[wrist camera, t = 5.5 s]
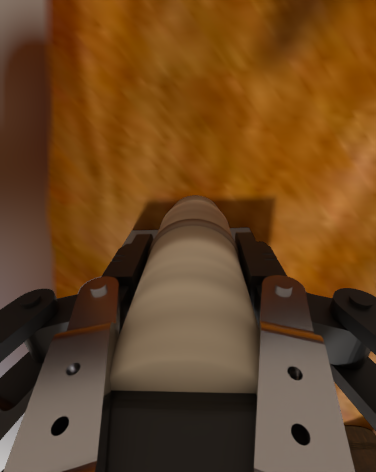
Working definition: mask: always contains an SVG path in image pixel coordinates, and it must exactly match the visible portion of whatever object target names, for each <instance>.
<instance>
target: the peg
mask: <svg viewBox="0 0 376 472" xmlns="http://www.w3.org/2000/svg"><path fill="white" fill-rule="evenodd" d="M147 259H148V260H147V263H146V266H145V268H144V271H143V274H142V276H141V279H140V282H139V284H138V287H137V290H136V292H135V295H134V298H133V300H132V303H131V306H130V308H129V311H128V314H127V316H126V319H125V322H124V324H123V327H122V330H121V332H120V335H119V338H118V341H117V344H116V348H115V353H114V357H113V363H112V368H111V374H110V382H111V390H121V391H167V392H213V393H256V386H257V379H258V349H259V327H258V324H257V320H256V317H255V313H254V310H253V306H252V303H251V300H250V296H249V293H248V289H247V286H246V283H245V279H244V276H243V272H242V269H241V266H240V262H239V261H240V254H239V251H238V248H237V245H236V243H235V241H234V239H233V238H232V235H231V231H230V228H229V225H228V222H227V220H226V218H225V216H224V215H223V213H222V212H221V211H220V210H219V209H218V207H217V206H216V205H215V204H214V203H213V202H212V201H211V200H209V199H208V198H205V197H202V196H188V197H185V198H183V199H181V200H179V201H178V202H177V203H176V204H175V205H174V206H173V208H172V209H171V210H170V211H169V212H168V213H167V214H166V215H165V217H164V218H163V221H162V223H161V226H160V228H159V231H158V234H157V235H156V236H155V238H154V240H153V241H152V244H151V246H150V249H149V251H148V255H147Z"/></svg>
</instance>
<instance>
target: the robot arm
mask: <svg viewBox="0 0 376 472" xmlns="http://www.w3.org/2000/svg"><path fill="white" fill-rule="evenodd" d="M152 241H153V235H152V234H136V236H135V238H134V240H133V241H132V243H131V244H125V245H124V246H123V247H121V248H120V249H119V250H118V251H117V253H116V254H115V256H114V258H113V259H112V262H110V264H109V265H108V267H107V269H106V270H105V272H104V273H103V275H102V276H101V277H98V278H95V279H92V280H90V281H88V282H87V283H85V284H84V285H83V286H82V287H81V288H80V290H79V292H78V294H77V295H72V296H68V297H63V298H59V299H57V298H56V296H55V293H54V292H53V291H52V290H50V289H37V290H34V291H31V292H28V293H26V294H24V295H22V296H20V297H19V298H17V299H15V300H14V301H13V302H11V303H10V304H8V305H7V306H5V307H4V308H2V309H1V310H0V362H1V361H2V360H4V359H5V358H6V357H7V356H8V355H10V354H11V353H12V352H13V351H14V350H15V349H16V348H18V347H19V346H20V345H21V344H22V343H23V342H24V343H25V345H26V347H27V349H28V351H29V352H28V353H27V354H26V355H25V356H24V357H22V358H21V359H20V360H19V361H18V362H17V363H16V364H15V365H14V366H13V367H12V368H10V369H9V370H8V371H7V372H6V373H5V374H4V375H3V376H2V377H1V378H0V440H1V439H2V437H4V435H5V434H6V433H7V432H8V431H9V430H10V428H11V427H12V426H13V425H14V424H15V422H17V421H18V419H19V418H20V417H21V416H22V415H23V414H24V413H25V415H24V417H23V420H22V422H21V425H20V428H19V430H18V433H17V436H16V439H15V441H14V444H13V447H12V450H11V452H10V455H9V458H8V460H7V463H6V466H5V469H4V470H3V471H2V472H357V471H356V470H355V469H354V465H353V461H352V457H351V453H350V448H349V444H348V440H347V436H346V431H345V427H344V423H343V419H342V415H341V410H340V406H339V402H338V398H337V393H336V389H335V385H334V382H335V383H336V384H337V385H338V387H339V388H340V389H341V390H342V391H343V393H344V394H345V395H346V396H347V397H348V399H349V400H350V401H351V402H352V403H353V404H354V406H355V407H356V408H357V409H358V410H359V412H360V413H361V414H362V415H363V416H364V418H365V419H366V420H367V421H368V422H369V424H370V425H371V426H372V427H373V428H374V429H375V431H376V364H375V363H374V362H373V361H372V360H371V359H370V358H369V357H368V356H369V354H370V352H371V351H372V352H373V353H374V354H375V355H376V297H374V296H373V295H371V294H369V293H366V292H364V291H361V290H357V289H351V288H343V289H339V290H337V291H335V293H334V295H333V298H328V297H323V296H318V295H313V294H310V293H307V292H306V291H305V288H304V287H303V285H302V284H301V283H299V282H298V281H297V280H295V279H293V278H290V277H287V275H286V273H285V272H284V270H283V268H282V266H281V265H280V263H279V261H278V260H277V258H276V256H275V254H274V252H273V251H272V249H271V247H270V246H268V245H267V244H266V243H264V242H256V240H255V238H254V236H253V234H252V232H236V234H235V243H236V245H237V248H238V251H239V254H240V261H239V262H240V266H241V269H242V272H243V276H244V279H245V283H246V286H247V289H248V293H249V296H250V300H251V303H252V306H253V310H254V313H255V317H256V320H257V324H258V327H259V349H258V379H257V386H256V393H213V392H167V391H121V390H111V382H110V374H111V368H112V363H113V357H114V353H115V348H116V344H117V341H118V338H119V335H120V332H121V330H122V327H123V324H124V322H125V319H126V316H127V314H128V311H129V308H130V306H131V303H132V300H133V298H134V295H135V292H136V290H137V287H138V284H139V282H140V279H141V276H142V274H143V271H144V268H145V266H146V263H147V260H148V259H147V255H148V251H149V249H150V246H151V244H152Z"/></svg>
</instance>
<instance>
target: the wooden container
mask: <svg viewBox="0 0 376 472" xmlns="http://www.w3.org/2000/svg"><path fill="white" fill-rule="evenodd" d="M344 427H345V431H346V436H347V440H348V444H349V448H350V453H351V457H352V461H353V465H354V469H355V470H356V471H357V472H376V435H375V434H374V433H373V432H372V431H371V430H369V429H366V428H363V427H357V426H344Z"/></svg>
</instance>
